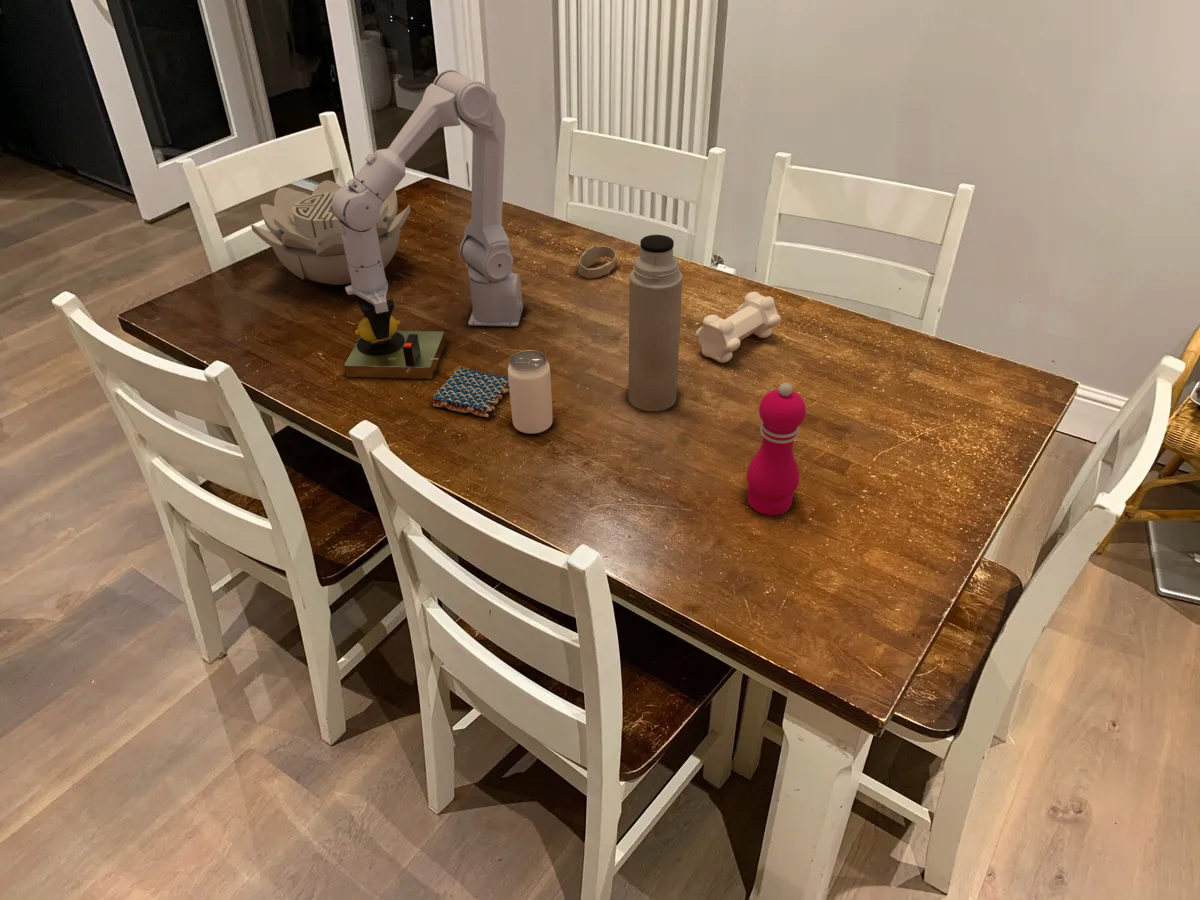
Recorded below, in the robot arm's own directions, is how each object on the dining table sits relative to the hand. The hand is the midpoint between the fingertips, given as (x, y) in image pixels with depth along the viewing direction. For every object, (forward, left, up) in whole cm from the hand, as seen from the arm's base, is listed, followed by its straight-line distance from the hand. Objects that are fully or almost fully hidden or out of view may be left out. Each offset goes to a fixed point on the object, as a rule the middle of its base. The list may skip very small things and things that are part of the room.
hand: (378, 331), depth 152 cm
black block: (-7, +5, -2) cm, 9 cm away
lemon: (0, 0, -1) cm, 1 cm away
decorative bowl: (+15, -32, -5) cm, 35 cm away
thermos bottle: (-49, +11, -5) cm, 50 cm away
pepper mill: (-66, +36, -5) cm, 75 cm away
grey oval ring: (-37, -35, -5) cm, 51 cm away
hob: (-3, +2, -5) cm, 6 cm away
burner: (0, 0, -2) cm, 2 cm away
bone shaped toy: (-64, -6, -5) cm, 64 cm away
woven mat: (-19, +12, -5) cm, 23 cm away
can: (-30, +19, -5) cm, 36 cm away
